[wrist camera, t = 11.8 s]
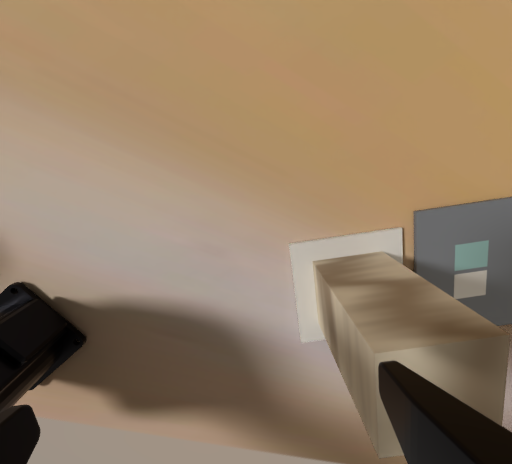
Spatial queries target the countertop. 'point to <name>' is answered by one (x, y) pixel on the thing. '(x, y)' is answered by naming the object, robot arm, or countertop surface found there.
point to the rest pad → (328, 249)
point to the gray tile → (469, 254)
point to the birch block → (405, 338)
